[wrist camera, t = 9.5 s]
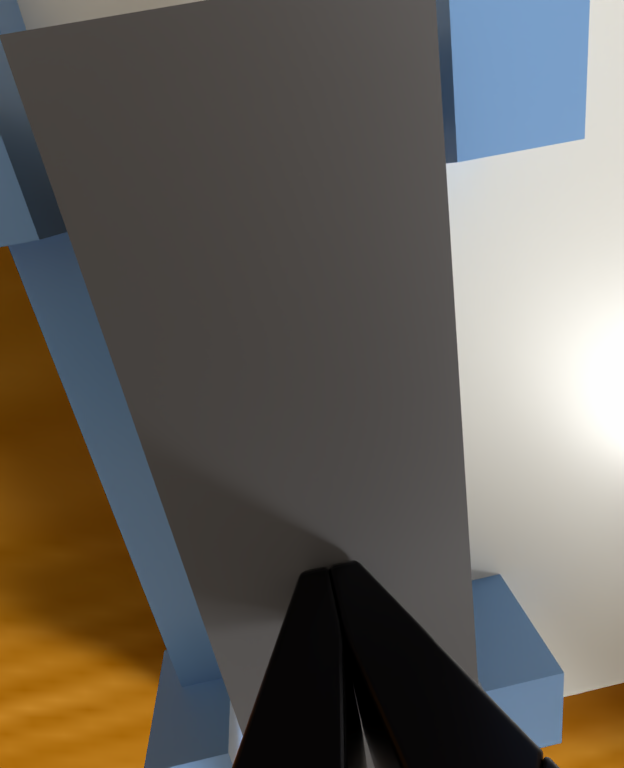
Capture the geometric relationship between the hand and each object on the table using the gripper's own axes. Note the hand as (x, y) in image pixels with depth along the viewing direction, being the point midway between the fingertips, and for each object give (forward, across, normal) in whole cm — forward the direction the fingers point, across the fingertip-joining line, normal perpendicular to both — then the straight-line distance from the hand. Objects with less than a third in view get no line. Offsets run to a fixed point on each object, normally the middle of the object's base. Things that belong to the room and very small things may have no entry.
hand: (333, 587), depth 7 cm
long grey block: (+4, 0, 0) cm, 5 cm away
